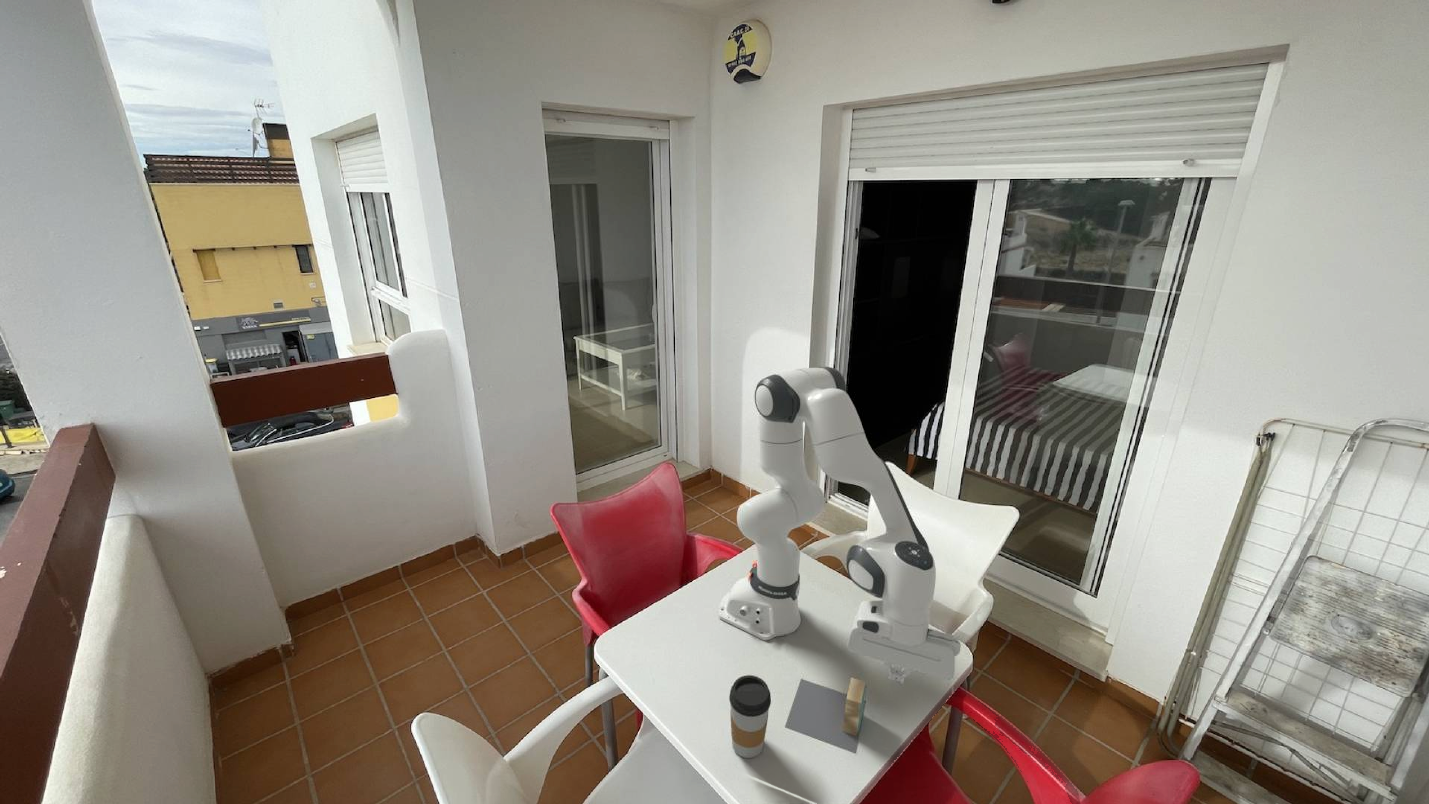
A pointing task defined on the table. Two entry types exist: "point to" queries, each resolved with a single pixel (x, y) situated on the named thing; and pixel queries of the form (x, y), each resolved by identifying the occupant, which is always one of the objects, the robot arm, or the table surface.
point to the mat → (821, 715)
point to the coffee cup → (749, 715)
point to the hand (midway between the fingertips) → (895, 678)
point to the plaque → (854, 706)
